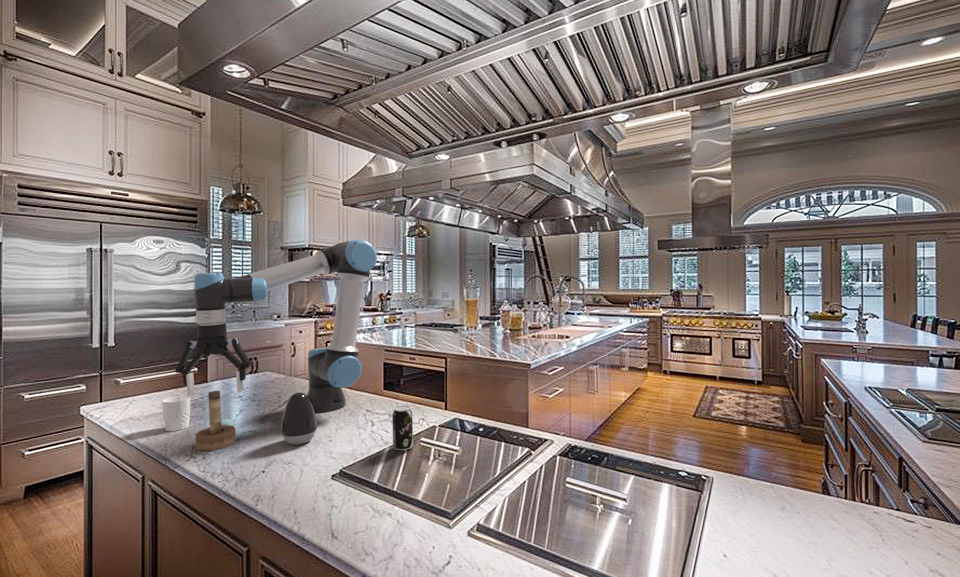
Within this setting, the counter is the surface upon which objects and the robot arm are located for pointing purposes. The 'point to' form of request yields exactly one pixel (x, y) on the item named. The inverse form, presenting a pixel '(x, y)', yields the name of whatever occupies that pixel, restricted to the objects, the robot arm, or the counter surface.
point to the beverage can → (402, 428)
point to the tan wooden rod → (214, 412)
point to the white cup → (176, 412)
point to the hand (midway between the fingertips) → (215, 393)
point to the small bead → (227, 422)
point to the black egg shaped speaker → (299, 419)
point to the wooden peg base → (215, 438)
